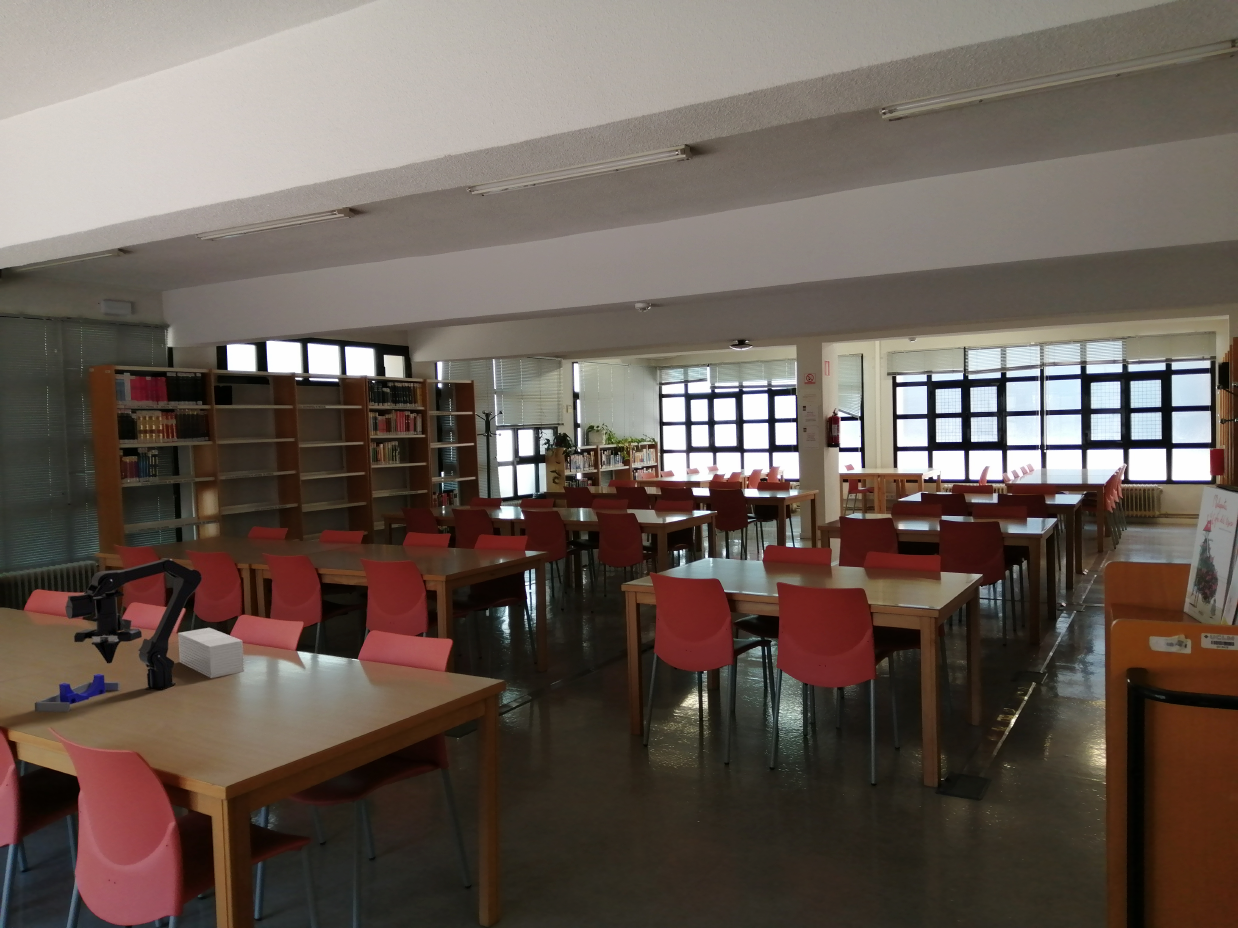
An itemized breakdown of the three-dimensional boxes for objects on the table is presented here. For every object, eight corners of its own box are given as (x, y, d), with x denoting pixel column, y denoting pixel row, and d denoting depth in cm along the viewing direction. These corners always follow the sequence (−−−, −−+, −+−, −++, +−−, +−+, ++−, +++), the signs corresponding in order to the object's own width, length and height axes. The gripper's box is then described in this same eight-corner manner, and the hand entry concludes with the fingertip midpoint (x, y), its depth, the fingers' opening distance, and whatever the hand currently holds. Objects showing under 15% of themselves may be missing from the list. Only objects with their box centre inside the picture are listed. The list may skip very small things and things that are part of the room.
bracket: (120, 689, 279) (119, 681, 279) (67, 711, 258) (67, 703, 258) (89, 689, 281) (89, 681, 281) (35, 711, 259) (34, 702, 259)
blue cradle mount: (68, 705, 265) (67, 685, 265) (60, 703, 267) (59, 684, 267) (108, 694, 276) (107, 675, 275) (99, 692, 278) (98, 673, 277)
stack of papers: (244, 671, 297) (242, 640, 297) (211, 678, 290) (209, 646, 289) (210, 656, 320) (209, 627, 320) (179, 662, 313) (178, 632, 313)
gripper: (151, 606, 276) (154, 655, 276) (97, 607, 278) (100, 656, 278) (128, 614, 265) (131, 665, 265) (71, 615, 267) (74, 665, 267)
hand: (109, 662), depth 269 cm, fingers closed
